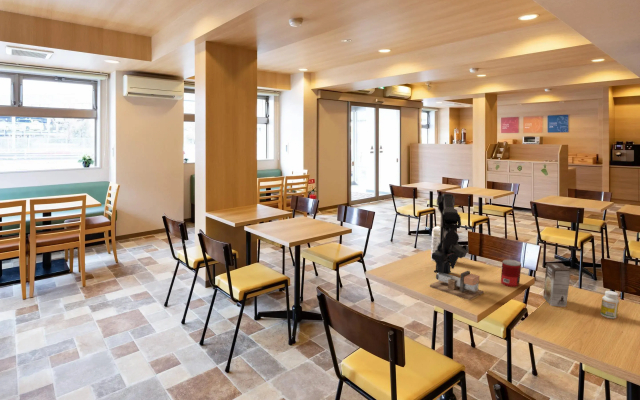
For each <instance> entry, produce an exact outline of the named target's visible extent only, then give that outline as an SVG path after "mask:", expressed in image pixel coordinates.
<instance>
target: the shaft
mask: <svg viewBox="0 0 640 400" xmlns="http://www.w3.org/2000/svg"><path fill="white" fill-rule="evenodd" d="M435 278H436V280H437V281H442V282H445V283H448V279H451V280H454V281H455V286H458V287H460V279H461V277H458V276H455V275H451V274H450V273H448V274H445V273H440V272H438V273H436V276H435ZM464 289H467V290H471V291H474V292H475V291H477V290H478V289H479V283H477V284H475V285H473V286H472V285H468V284H465V283H464Z"/></svg>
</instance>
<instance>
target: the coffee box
mask: <svg viewBox="0 0 640 400" xmlns="http://www.w3.org/2000/svg"><path fill="white" fill-rule="evenodd" d="M545 266H546V267H545V277H544V283H543V284H544V287H543V295H542V296H543V299H544V300H545V301H546V302H547V303H548V304H549V306H551V307H567V305H568V304H567V303H568V297H569V296H568V295H569V287H570V280H571V279H570V278H571V273H572V272H571V269H570V268H568V267H567V266H566V265H565V264H564V263H561V262H560V263H559V262H546V265H545Z"/></svg>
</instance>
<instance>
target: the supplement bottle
mask: <svg viewBox="0 0 640 400" xmlns="http://www.w3.org/2000/svg"><path fill="white" fill-rule="evenodd" d="M618 297H619V293H618V292H615V291H612V290H605V292H604V295H603V296H602V299H601V304H600V305H601V306H600V315H601V316H602V317H605V318H608V319H616V318H617V317H618V312H619V307H620V306H619V304H620V299H618Z"/></svg>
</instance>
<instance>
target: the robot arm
mask: <svg viewBox="0 0 640 400" xmlns="http://www.w3.org/2000/svg"><path fill="white" fill-rule="evenodd" d="M455 198H456V197H455V196H454V195H453V194H451V193H442V194H441V195H439V196H437V197H436V206H437V210H438V211H439V213H440V243H439V244H438V246H437V250H435V252H434V253H432V257H431V256H430V258H432V259H433V260H435V261H434V262H435V270H433V272H434V273H436V274H437V273H438V272H440V273H445V274H450V273H451V274H452V271H451V269H452V270H453V269H455V266H456V265H457V262H458V259H463V258H465V257H466V255H467V254H469V245H467V244H463V245H460V244H459V241H460V237H459V234H458V232H457V229H460V228H461V226H462V221H461V220H462V219H461V218H462V217H461V215H460V214H459V212H458V210H457V208H455V207H454V206H455V202H456V201H455ZM433 260H432V261H433Z"/></svg>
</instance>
